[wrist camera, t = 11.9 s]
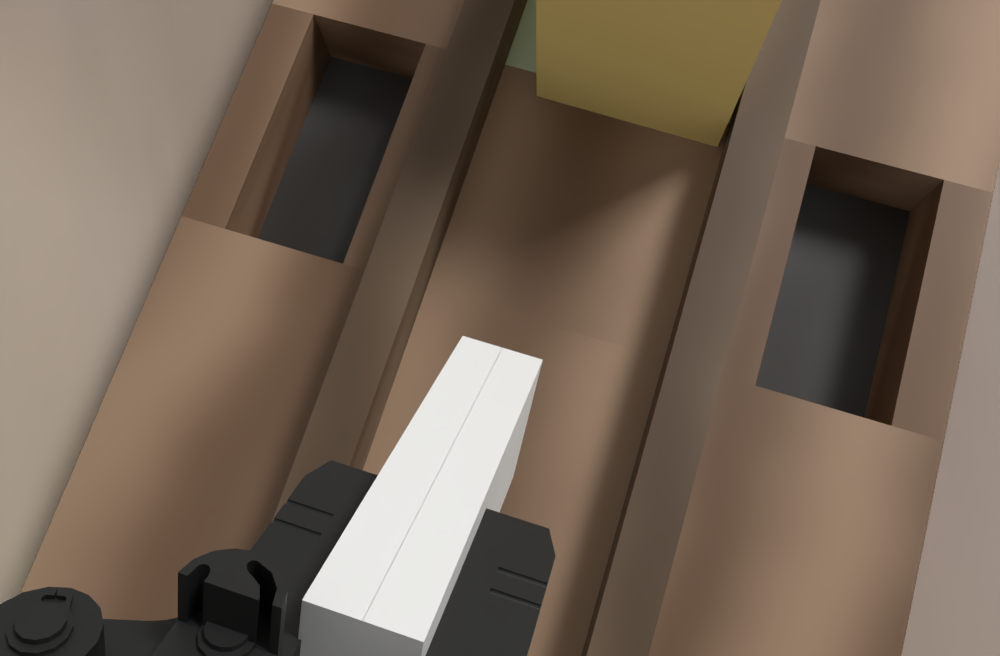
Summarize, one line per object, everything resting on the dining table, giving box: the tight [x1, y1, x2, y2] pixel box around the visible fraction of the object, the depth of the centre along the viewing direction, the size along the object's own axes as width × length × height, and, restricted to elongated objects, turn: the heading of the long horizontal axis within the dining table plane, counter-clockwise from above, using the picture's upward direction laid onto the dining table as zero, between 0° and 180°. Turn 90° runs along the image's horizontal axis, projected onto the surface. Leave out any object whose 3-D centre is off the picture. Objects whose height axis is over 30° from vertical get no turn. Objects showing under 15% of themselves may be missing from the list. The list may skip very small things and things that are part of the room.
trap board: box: [22, 0, 1000, 656], centre depth 28 cm, size 24×32×5 cm
